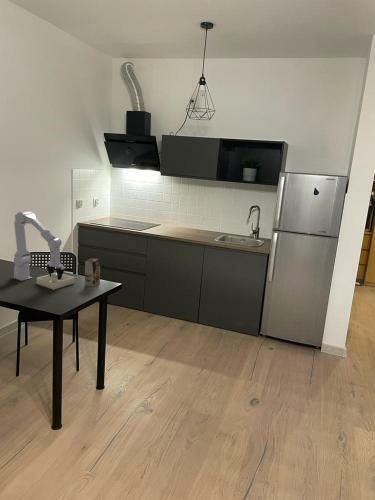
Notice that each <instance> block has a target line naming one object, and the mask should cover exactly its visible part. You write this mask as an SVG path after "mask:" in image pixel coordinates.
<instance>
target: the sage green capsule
mask: <svg viewBox="0 0 375 500" xmlns="http://www.w3.org/2000/svg"><path fill="white" fill-rule="evenodd" d="M59 281H60V280H58V277H57V272H54V273H51V282H52V283H55V282H59Z"/></svg>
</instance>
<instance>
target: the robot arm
mask: <svg viewBox="0 0 375 500" xmlns="http://www.w3.org/2000/svg"><path fill="white" fill-rule="evenodd" d="M13 224H14V233H15V243H16V252H15V253H14V255H13V256H14V257H13V263H14V266H13V275H14V276H12V278H13V279H16V280H18V281H22V282H24V281H27V280H29V279H33V277H32V276H30V263H31V262H32V256H31V253H30V251H29V250H28V249H27V240H26V230H25V226H26V225H27V224H31V225H32V226H33V227H34V228H35V229H37V230H38V231H39V232H40V236H41V237H42V238H43V239H44V240H45V241H46V243H47V246H48V247H49V248H48V249H49V253H50V254H49V255H50V256H49V259H50V261H46V266H45V268H46V270H47V272H48V275H50V277H51V273H57V277H58V280H60V279H61V278H62V275H63V274H64V273H65V271H66V268H65V266H64V265H63V264H62V263H61V246H62V243H63V242H62V240H61V238H60V237H57V236H56V235H54V234H53V232H52V231H51V230H50V229H48V228H45V227H44V226H43V224H42V223H41V222H40V221H39V219H38V218H37V216H36V214H35V213H34V212H33V211H32V210H26V211H22V212H21V211H20V212H17V213H16V214H15V215H14V223H13ZM55 268H56V269H55ZM55 271H56V272H55Z"/></svg>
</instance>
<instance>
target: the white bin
mask: <svg viewBox="0 0 375 500" xmlns="http://www.w3.org/2000/svg"><path fill="white" fill-rule="evenodd" d="M36 284H37V285H39V286H41V287H45V288H47V289H51V290H53V291H55V290H58V289H61V288H64V287H68V286H70V285H74V284H75V277H74V276H72V275H67V274H64V273H63V275H62V278H61V279H60V281H59V282H55V283H52V282H51V277H50V275H49V274H46V275H41V276H38V277H36ZM67 285H68V286H67Z"/></svg>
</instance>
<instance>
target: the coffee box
mask: <svg viewBox="0 0 375 500" xmlns="http://www.w3.org/2000/svg"><path fill="white" fill-rule="evenodd" d="M84 261H85V262H84V286H87V287H94V288H95V286H97V285H98V284H100V282H101V258H94V257H91V258H88V259H86V260H84Z"/></svg>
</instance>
